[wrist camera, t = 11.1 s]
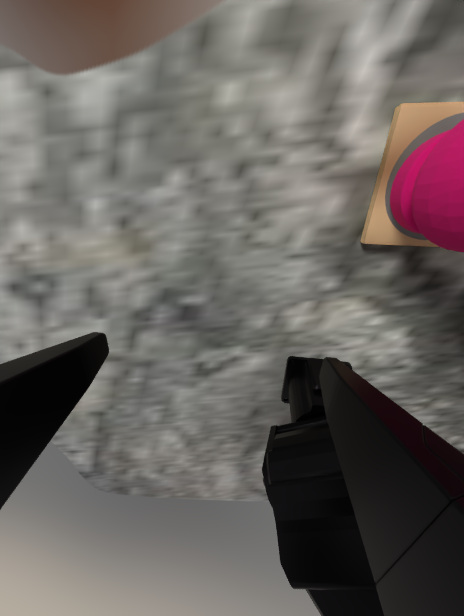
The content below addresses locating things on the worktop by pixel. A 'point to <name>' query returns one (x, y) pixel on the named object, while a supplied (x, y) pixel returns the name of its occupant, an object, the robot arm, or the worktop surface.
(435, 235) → the pepper mill
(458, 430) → the worktop surface
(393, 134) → the dock
